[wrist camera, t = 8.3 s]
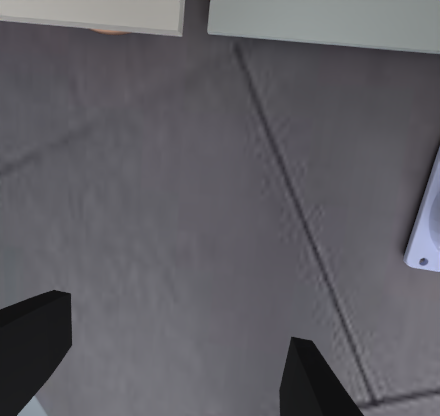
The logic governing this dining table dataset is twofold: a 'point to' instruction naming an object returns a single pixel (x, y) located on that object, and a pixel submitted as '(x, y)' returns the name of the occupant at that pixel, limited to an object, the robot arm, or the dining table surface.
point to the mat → (333, 22)
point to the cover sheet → (100, 14)
